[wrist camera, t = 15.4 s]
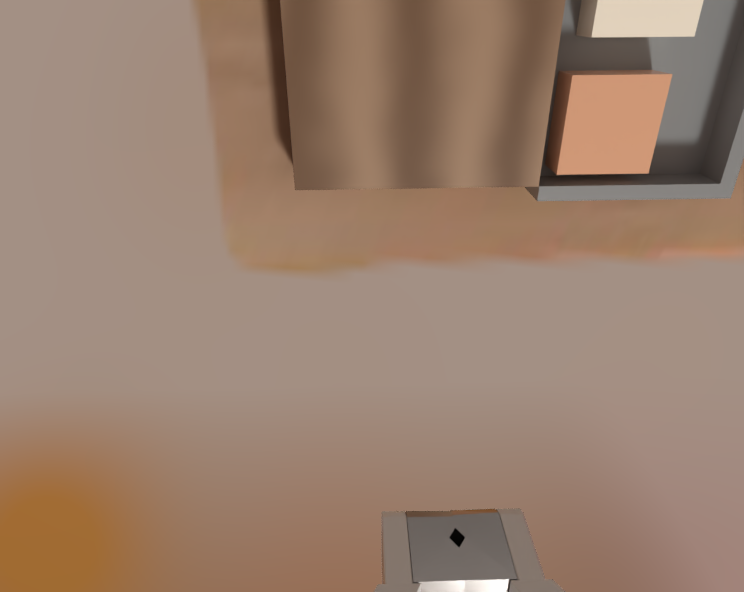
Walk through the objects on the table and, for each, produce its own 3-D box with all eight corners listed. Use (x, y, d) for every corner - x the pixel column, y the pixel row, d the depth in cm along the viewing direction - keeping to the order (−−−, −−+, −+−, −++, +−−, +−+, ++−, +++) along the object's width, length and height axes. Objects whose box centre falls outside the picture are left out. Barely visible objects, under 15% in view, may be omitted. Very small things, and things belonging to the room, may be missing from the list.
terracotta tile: (652, 69, 34) (672, 74, 32) (631, 163, 37) (648, 173, 35) (558, 70, 34) (572, 75, 32) (545, 164, 37) (556, 174, 35)
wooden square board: (563, -107, 30) (582, -118, 27) (526, 174, 38) (538, 186, 35) (278, -105, 30) (270, -115, 27) (299, 177, 38) (295, 190, 35)
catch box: (798, -131, 30) (841, -144, 27) (705, 185, 38) (730, 198, 36) (566, -129, 30) (586, -142, 27) (525, 187, 38) (537, 201, 36)
